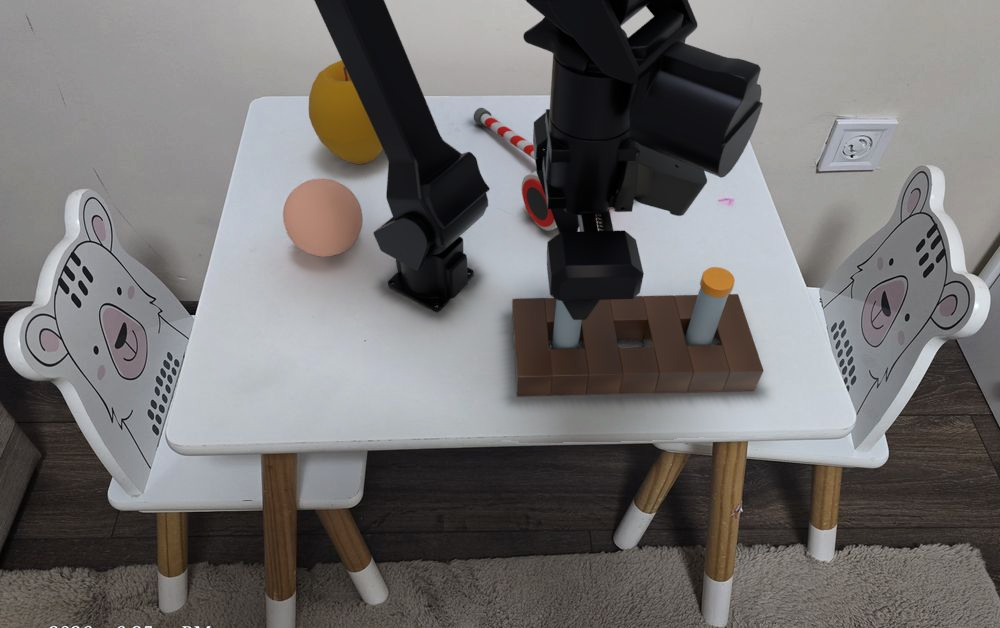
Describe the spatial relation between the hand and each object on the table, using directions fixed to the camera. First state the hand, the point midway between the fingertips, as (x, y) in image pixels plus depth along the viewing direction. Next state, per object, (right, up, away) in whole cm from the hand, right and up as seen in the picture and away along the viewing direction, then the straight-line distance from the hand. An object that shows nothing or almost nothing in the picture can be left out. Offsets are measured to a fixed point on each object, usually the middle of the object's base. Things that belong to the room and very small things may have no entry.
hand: (573, 276), depth 63 cm
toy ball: (-24, +4, +17) cm, 30 cm away
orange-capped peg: (+12, -7, +8) cm, 16 cm away
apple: (-23, +16, +28) cm, 40 cm away
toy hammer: (-1, +12, +25) cm, 28 cm away
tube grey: (0, -7, +8) cm, 11 cm away
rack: (+6, -7, +8) cm, 12 cm away
